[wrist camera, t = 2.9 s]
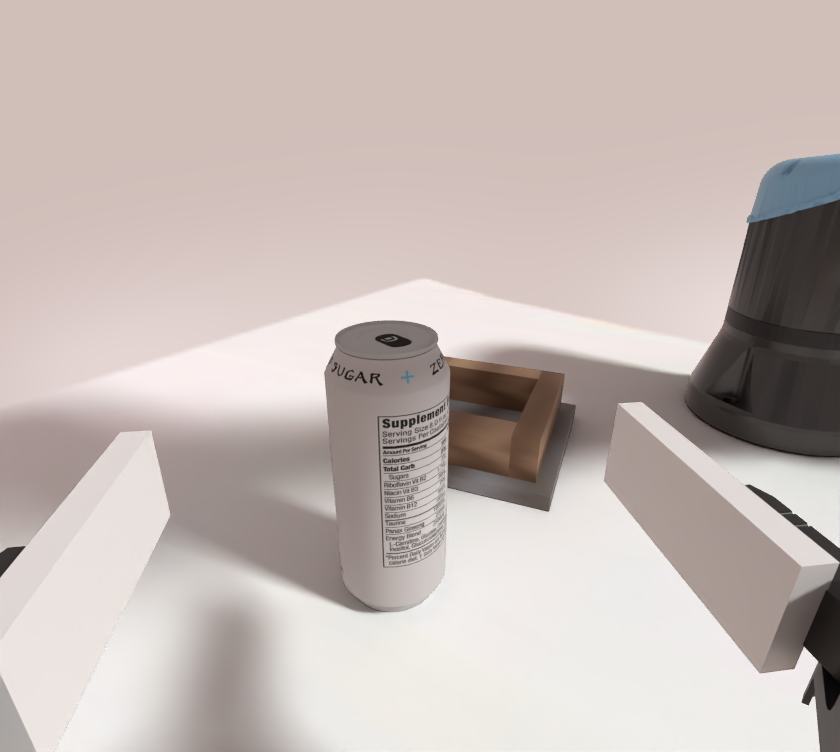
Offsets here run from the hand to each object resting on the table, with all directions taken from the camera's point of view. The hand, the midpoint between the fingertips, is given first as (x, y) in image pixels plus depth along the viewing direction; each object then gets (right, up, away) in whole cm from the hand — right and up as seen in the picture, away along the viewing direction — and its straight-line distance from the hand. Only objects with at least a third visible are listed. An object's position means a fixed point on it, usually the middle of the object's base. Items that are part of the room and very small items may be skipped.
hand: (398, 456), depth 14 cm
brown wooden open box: (+5, -3, +30) cm, 30 cm away
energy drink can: (-1, -10, +15) cm, 18 cm away
